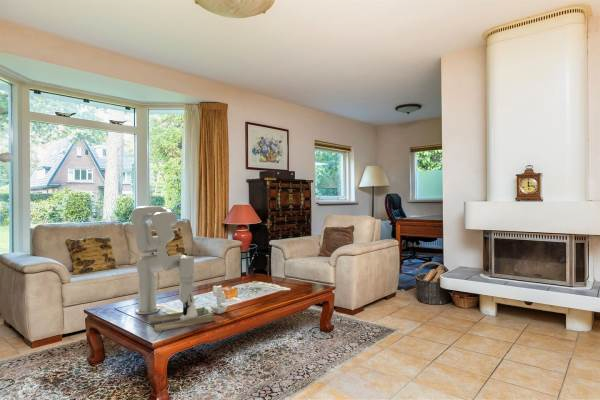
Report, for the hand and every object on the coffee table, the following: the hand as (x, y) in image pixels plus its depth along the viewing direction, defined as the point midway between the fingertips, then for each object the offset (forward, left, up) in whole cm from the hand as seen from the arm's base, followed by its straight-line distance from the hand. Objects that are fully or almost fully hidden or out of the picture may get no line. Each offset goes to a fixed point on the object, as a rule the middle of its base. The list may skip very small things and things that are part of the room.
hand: (186, 314), depth 195 cm
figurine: (-5, +20, -4) cm, 21 cm away
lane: (0, -3, -4) cm, 5 cm away
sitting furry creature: (+2, +2, -3) cm, 4 cm away
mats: (0, -14, -4) cm, 15 cm away
